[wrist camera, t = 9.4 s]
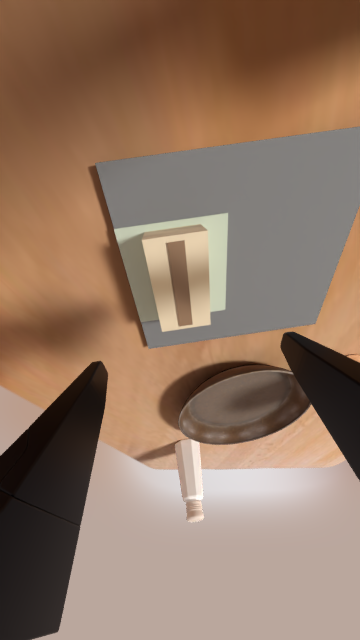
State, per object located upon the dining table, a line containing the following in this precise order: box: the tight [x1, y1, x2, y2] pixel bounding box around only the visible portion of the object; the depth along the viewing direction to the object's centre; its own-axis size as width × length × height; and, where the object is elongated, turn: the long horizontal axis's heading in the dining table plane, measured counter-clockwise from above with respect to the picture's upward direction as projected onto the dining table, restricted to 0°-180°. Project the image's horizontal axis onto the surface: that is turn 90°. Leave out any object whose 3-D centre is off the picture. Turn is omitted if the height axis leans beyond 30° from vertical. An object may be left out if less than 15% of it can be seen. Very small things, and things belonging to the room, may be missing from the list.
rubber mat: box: [95, 127, 360, 349], centre depth 18 cm, size 20×17×1 cm
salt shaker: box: [175, 439, 204, 522], centre depth 35 cm, size 5×5×11 cm
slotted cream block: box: [142, 224, 211, 332], centre depth 16 cm, size 8×4×3 cm, turn 7°
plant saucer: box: [178, 365, 311, 445], centre depth 30 cm, size 21×21×3 cm
